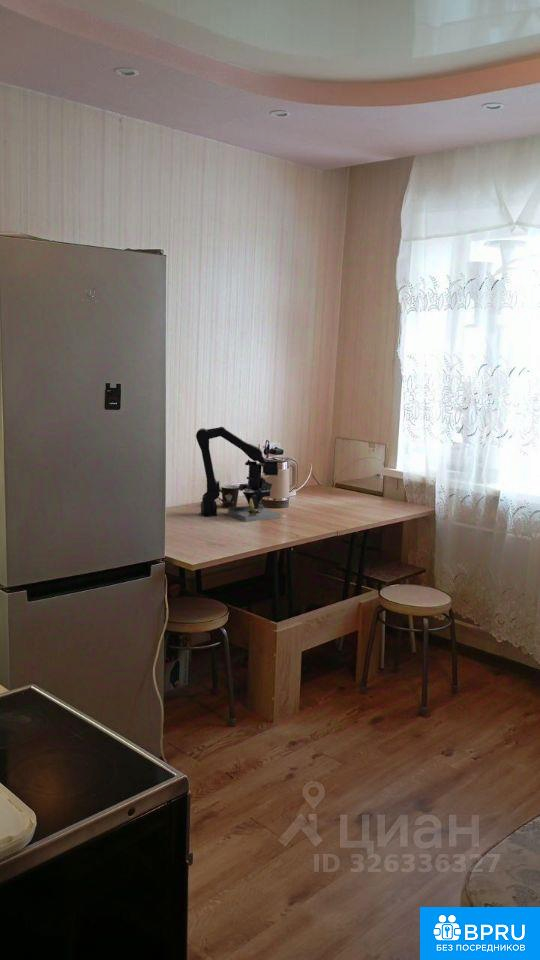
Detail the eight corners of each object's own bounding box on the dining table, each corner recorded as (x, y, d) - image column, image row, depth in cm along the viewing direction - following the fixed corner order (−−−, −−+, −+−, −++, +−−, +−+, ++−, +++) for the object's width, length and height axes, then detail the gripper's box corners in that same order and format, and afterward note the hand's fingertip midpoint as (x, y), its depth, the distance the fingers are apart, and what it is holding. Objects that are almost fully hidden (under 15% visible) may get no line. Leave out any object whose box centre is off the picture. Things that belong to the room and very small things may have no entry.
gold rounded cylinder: (252, 514, 353) (252, 499, 352) (247, 512, 357) (248, 497, 356) (259, 513, 356) (260, 498, 354) (255, 511, 359) (255, 496, 358)
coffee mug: (242, 507, 376) (242, 486, 374) (231, 509, 368) (232, 489, 367) (222, 503, 382) (223, 483, 380) (212, 506, 374) (212, 485, 373)
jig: (245, 521, 345) (245, 514, 344) (227, 514, 358) (228, 507, 358) (279, 518, 355) (279, 511, 354) (261, 511, 368) (261, 504, 367)
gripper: (281, 477, 350) (279, 511, 352) (259, 470, 365) (258, 503, 368) (259, 478, 344) (258, 513, 346) (238, 472, 359) (237, 505, 362)
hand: (253, 508), depth 356 cm, fingers closed on gold rounded cylinder, 4 cm apart
